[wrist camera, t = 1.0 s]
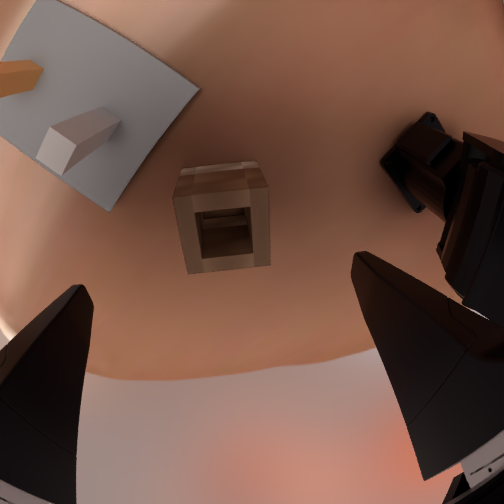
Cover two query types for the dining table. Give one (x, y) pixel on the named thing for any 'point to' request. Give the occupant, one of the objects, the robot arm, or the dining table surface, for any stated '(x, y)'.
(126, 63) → the pin board
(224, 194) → the sleeve
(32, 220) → the dining table surface
